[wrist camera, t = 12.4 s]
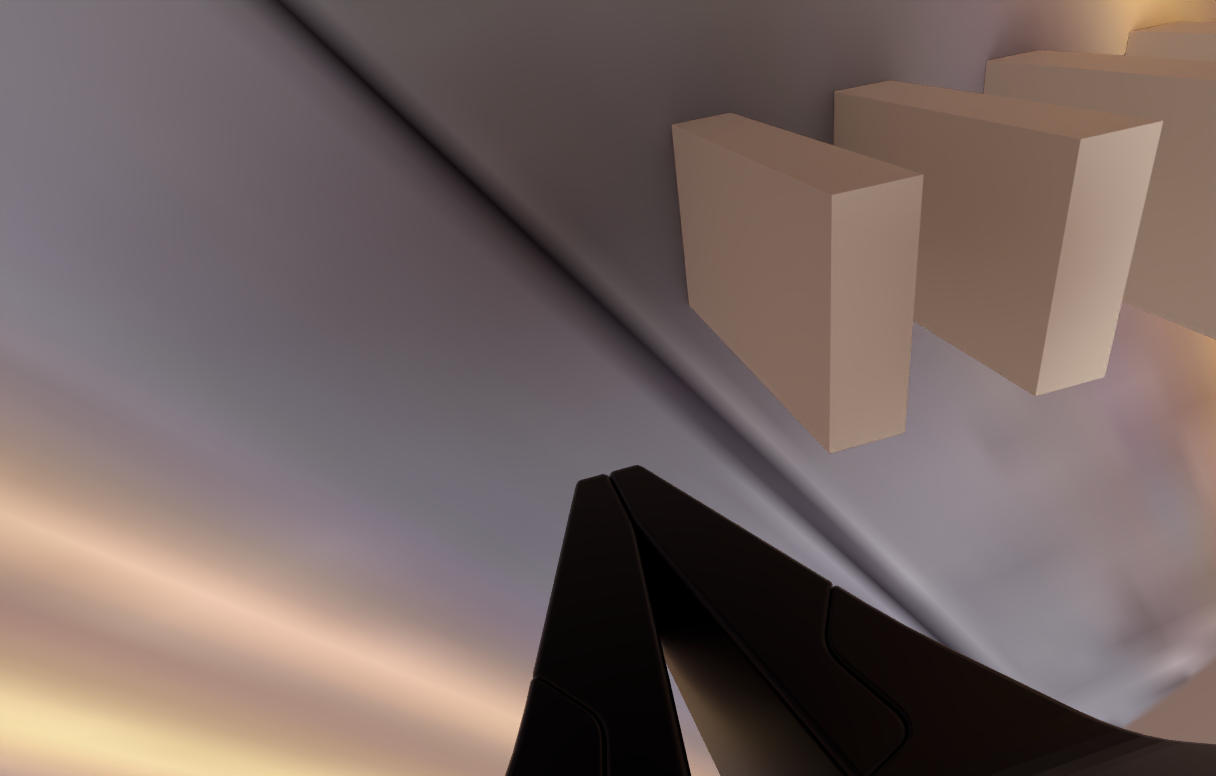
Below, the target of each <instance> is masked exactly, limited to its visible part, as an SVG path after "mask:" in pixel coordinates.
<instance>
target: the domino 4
mask: <svg viewBox="0 0 1216 776" xmlns="http://www.w3.org/2000/svg"><path fill="white" fill-rule="evenodd" d="M1125 56H1140V57H1156V58H1171V59H1187V60H1203V61H1216V22H1174V23H1169V24H1164V25H1159V26H1155V27H1150V28H1145V29H1140V30H1135V31H1130V33H1129V39H1128V44H1127V49H1126V54H1125Z"/></svg>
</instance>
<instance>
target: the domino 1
mask: <svg viewBox="0 0 1216 776" xmlns="http://www.w3.org/2000/svg"><path fill="white" fill-rule="evenodd" d="M671 126H672V136H673V146H674V156H675V167H676V177H677V187H678V197H679V207H680V218H681V228H682V238H683V248H684V258H685V269H686V279H687V289H688V299H689V306H690V307H691V308H692V309H693V310H694V311H695V312H696V313H697V314H698V315H699V316H700V317H701V318H702V319H703V320H704V322H705V323H706V324H707V325H708V326H709V327H710V328H711V329H712V330H713V331H714V332H715V333H716V334H717V335H718V336H719V337H720V338H721V340H722V341H723V342H724V343H725V344H726V345H727V346H728V347H729V348H730V349H731V350H732V351H733V352H734V353H735V354H736V355H737V356H738V358H739V359H740V360H741V361H742V362H743V363H744V364H745V365H746V366H747V367H748V368H749V369H750V370H751V371H752V372H753V373H754V374H755V376H756V377H757V378H758V379H759V380H760V381H761V382H762V383H763V384H764V385H765V386H766V387H767V388H768V389H769V390H770V391H771V392H772V394H773V395H774V396H775V397H776V398H777V399H778V400H779V401H780V402H781V403H782V404H783V405H784V406H785V407H786V408H787V409H788V410H789V412H790V413H791V414H792V415H793V416H794V417H795V418H796V419H797V420H798V421H799V422H800V423H801V424H802V425H803V426H804V427H805V428H806V430H807V431H808V432H809V433H810V434H811V435H812V436H813V437H814V438H815V439H816V440H817V441H818V442H819V443H820V444H821V445H822V446H823V448H824V449H825V450H826V451H827V452H828V453H829V454H830V453H834V452H838V451H841V450H845V449H848V448H852V447H855V446H859V445H863V444H866V443H870V442H873V441H877V440H881V439H884V438H888V437H891V436H895V435H898V434H902V433H905V424H906V410H907V396H908V383H909V369H910V355H911V341H912V328H913V314H914V300H915V286H916V273H917V259H918V245H919V231H920V218H921V204H922V190H923V176H924V174H921V173H917V172H914V171H911V170H908V169H905V168H902V167H899V166H896V165H893V164H889V163H886V162H883V161H880V160H877V159H874V158H871V157H868V156H864V155H861V154H858V153H855V152H852V151H849V150H846V149H843V148H840V147H836V146H833V145H830V144H827V143H824V142H821V141H818V140H815V139H812V138H808V137H805V136H802V135H799V134H796V133H793V132H790V131H787V130H784V129H780V128H777V127H774V126H771V125H768V124H765V123H762V122H759V121H755V120H752V119H749V118H746V117H743V116H740V115H737V114H734V113H726V114H721V115H716V116H711V117H706V118H701V119H696V120H691V121H686V122H681V123H676V124H671Z"/></svg>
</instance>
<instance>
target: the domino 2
mask: <svg viewBox="0 0 1216 776" xmlns="http://www.w3.org/2000/svg"><path fill="white" fill-rule="evenodd" d="M1162 125H1163V121H1162V120H1155V119H1149V118H1142V117H1135V116H1128V115H1122V114H1115V113H1108V112H1101V111H1095V110H1088V109H1081V108H1074V107H1067V106H1061V105H1054V104H1047V103H1040V102H1034V101H1027V100H1020V99H1013V98H1007V97H1000V96H993V95H986V94H980V93H973V92H966V91H959V90H952V89H946V88H939V87H932V86H925V85H919V84H912V83H905V82H898V81H892V80H888V81H884V82H879V83H874V84H869V85H864V86H859V87H854V88H849V89H844V90H839V91H834V146H836V147H840V148H843V149H846V150H849V151H852V152H855V153H858V154H861V155H864V156H868V157H871V158H874V159H877V160H880V161H883V162H886V163H889V164H893V165H896V166H899V167H902V168H905V169H908V170H911V171H914V172H917V173H921V174H924V176H923V190H922V204H921V218H920V231H919V245H918V259H917V273H916V286H915V300H914V314H913V321H915V322H916V323H918V324H919V325H921V326H923V327H924V328H926V329H927V330H929V331H931V332H932V333H934V334H936V335H937V336H939V337H940V338H942V339H944V340H945V341H947V342H948V343H950V344H952V345H953V346H955V347H957V348H958V349H960V350H961V351H963V352H965V353H966V354H968V355H969V356H971V357H973V358H974V359H976V360H978V361H979V362H981V363H982V364H984V365H986V366H987V367H989V368H990V369H992V370H994V371H995V372H997V373H999V374H1000V375H1002V376H1003V377H1005V378H1007V379H1008V380H1010V381H1011V382H1013V383H1015V384H1016V385H1018V386H1020V387H1021V388H1023V389H1024V390H1026V391H1028V392H1029V393H1031V394H1032V395H1034V396H1038V395H1042V394H1045V393H1049V392H1053V391H1056V390H1060V389H1063V388H1067V387H1071V386H1074V385H1078V384H1081V383H1085V382H1089V381H1092V380H1096V379H1099V378H1103V377H1105V373H1106V368H1107V364H1108V360H1109V355H1110V351H1111V347H1112V342H1113V338H1114V334H1115V329H1116V325H1117V321H1118V316H1119V312H1120V308H1121V303H1122V299H1123V295H1124V290H1125V286H1126V281H1127V277H1128V273H1129V268H1130V264H1131V260H1132V255H1133V251H1134V247H1135V242H1136V238H1137V234H1138V229H1139V225H1140V221H1141V216H1142V212H1143V208H1144V203H1145V199H1146V194H1147V190H1148V186H1149V181H1150V177H1151V173H1152V168H1153V164H1154V160H1155V155H1156V151H1157V147H1158V142H1159V138H1160V134H1161V129H1162Z"/></svg>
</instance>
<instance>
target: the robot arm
mask: <svg viewBox="0 0 1216 776" xmlns="http://www.w3.org/2000/svg"><path fill="white" fill-rule="evenodd" d="M665 661H666V662H665ZM666 663H667V666H668V668H669V670H670V672H671V674H672V676H673V678H674V680H675V682H676V684H677V686H678V688H679V690H680V693H681V695H682V697H683V699H684V701H685V703H686V705H687V707H688V709H689V711H690V713H691V715H692V717H693V719H694V722H695V724H696V726H697V728H698V730H699V732H700V734H701V736H702V738H703V740H704V742H705V744H706V746H707V749H708V751H709V753H710V755H711V757H712V759H713V761H714V763H715V765H716V767H717V769H718V771H719V773H720V775H721V776H1216V744H1205V743H1193V742H1183V741H1174V740H1167V739H1162V738H1157V737H1152V736H1147V735H1143V734H1140V733H1137V732H1133V731H1130V730H1126V729H1123V728H1120V727H1117V726H1114V725H1112V724H1109V723H1106V722H1104V721H1101V720H1098V719H1096V718H1094V717H1091V716H1089V715H1087V714H1085V713H1082V712H1080V711H1078V710H1076V709H1074V708H1072V707H1069V706H1067V705H1065V704H1063V703H1061V702H1059V701H1057V700H1055V699H1053V698H1051V697H1049V696H1047V695H1045V694H1043V693H1041V692H1039V691H1037V690H1035V689H1032V688H1030V687H1028V686H1026V685H1024V684H1022V683H1020V682H1018V681H1016V680H1014V679H1012V678H1010V677H1008V676H1006V675H1004V674H1002V673H1000V672H997V671H995V670H993V669H991V668H989V667H987V666H985V665H983V664H981V663H979V662H977V661H975V660H973V659H971V658H969V657H967V656H965V655H962V654H960V653H958V652H956V651H954V650H952V649H950V648H948V647H946V646H944V645H942V644H941V643H939V642H937V641H935V640H933V639H931V638H929V637H927V636H925V635H923V634H921V633H919V632H917V631H915V630H913V629H911V628H909V627H907V626H905V625H904V624H902V623H900V622H898V621H897V620H895V619H893V618H891V617H890V616H888V615H886V614H884V613H883V612H881V611H879V610H878V609H876V608H874V607H872V606H871V605H869V604H867V603H865V602H864V601H862V600H860V599H859V598H857V597H855V596H854V595H852V594H850V593H849V592H847V591H846V590H844V589H842V588H841V587H839V586H834V587H833V585H832V583H831V582H830V581H829V580H827V579H825V578H824V577H822V576H820V575H819V574H817V573H816V572H814V571H812V570H811V569H809V568H807V567H806V566H804V565H802V564H801V563H799V562H798V561H796V560H794V559H793V558H791V557H789V556H788V555H786V554H784V553H783V552H781V551H780V550H778V549H776V548H775V547H773V546H771V545H770V544H768V543H766V542H765V541H763V540H762V539H760V538H758V537H757V536H755V535H753V534H752V533H750V532H748V531H747V530H745V529H744V528H742V527H740V526H739V525H737V524H735V523H734V522H732V521H730V520H729V519H727V518H726V517H724V516H722V515H721V514H719V513H717V512H716V511H714V510H712V509H711V508H709V507H708V506H706V505H704V504H703V503H701V502H699V501H698V500H696V499H694V498H693V497H691V496H690V495H688V494H686V493H685V492H683V491H681V490H680V489H678V488H676V487H675V486H673V485H672V484H670V483H668V482H667V481H665V480H663V479H662V478H660V477H658V476H657V475H655V474H654V473H652V472H650V471H649V470H647V469H645V468H644V467H642V466H639V465H635V466H631V467H627V468H623V469H620V470H616V471H613V472H611V474H610V476H609V477H608V476H607V475H605V474H601V475H598V476H594V477H590V478H587V479H583V480H580V481H578V482H577V484H576V487H575V491H574V496H573V500H572V504H571V509H570V513H569V518H568V522H567V526H566V531H565V535H564V540H563V544H562V548H561V553H560V557H559V562H558V566H557V570H556V575H555V579H554V584H553V588H552V592H551V597H550V601H549V606H548V610H547V614H546V619H545V623H544V627H543V632H542V636H541V641H540V645H539V649H538V654H537V658H536V663H535V667H534V671H533V679H532V681H531V683H530V687H529V692H528V696H527V701H526V705H525V709H524V713H523V717H522V720H521V724H520V728H519V732H518V735H517V739H516V743H515V747H514V750H513V754H512V757H511V760H510V763H509V766H508V768H507V771H506V774H505V776H691V773H690V768H689V764H688V759H687V755H686V750H685V746H684V742H683V737H682V733H681V728H680V724H679V719H678V715H677V711H676V706H675V702H674V697H673V693H672V688H671V684H670V679H669V675H668V671H667V666H666Z"/></svg>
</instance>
